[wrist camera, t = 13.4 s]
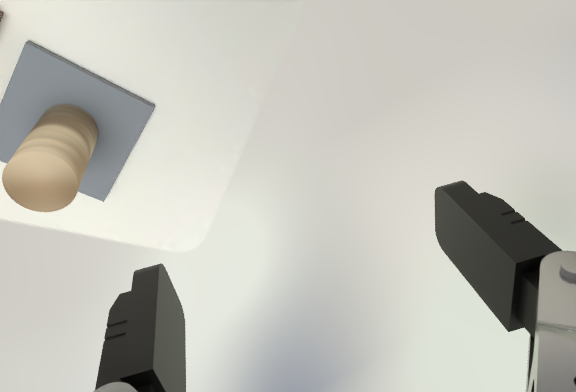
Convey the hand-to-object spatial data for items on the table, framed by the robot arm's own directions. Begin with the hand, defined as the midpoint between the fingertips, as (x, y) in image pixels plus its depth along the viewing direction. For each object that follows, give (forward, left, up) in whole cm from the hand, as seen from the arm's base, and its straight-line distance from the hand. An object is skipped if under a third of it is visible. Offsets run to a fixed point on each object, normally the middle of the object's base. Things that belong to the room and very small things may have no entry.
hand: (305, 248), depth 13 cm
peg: (+6, -13, -27) cm, 31 cm away
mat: (+6, -13, -28) cm, 32 cm away
